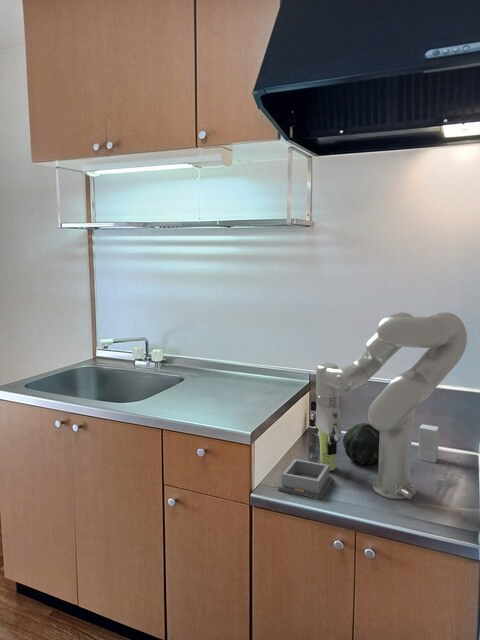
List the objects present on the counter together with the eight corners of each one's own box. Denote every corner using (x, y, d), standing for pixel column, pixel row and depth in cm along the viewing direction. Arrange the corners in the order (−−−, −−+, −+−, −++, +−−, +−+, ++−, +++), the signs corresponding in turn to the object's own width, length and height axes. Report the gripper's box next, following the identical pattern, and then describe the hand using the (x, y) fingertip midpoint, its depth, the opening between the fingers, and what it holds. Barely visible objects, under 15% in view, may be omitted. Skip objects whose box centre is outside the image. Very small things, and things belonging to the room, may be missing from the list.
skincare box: (438, 458, 178) (439, 426, 176) (435, 463, 175) (437, 430, 173) (420, 455, 181) (421, 423, 179) (417, 459, 178) (418, 427, 176)
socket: (333, 479, 164) (333, 464, 163) (320, 499, 152) (321, 483, 151) (292, 471, 170) (292, 457, 169) (278, 490, 158) (277, 474, 157)
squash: (362, 432, 190) (348, 410, 181) (398, 444, 179) (385, 422, 170) (345, 463, 184) (329, 443, 176) (380, 478, 174) (366, 457, 165)
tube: (320, 471, 169) (320, 416, 167) (317, 465, 174) (317, 411, 172) (336, 471, 169) (336, 415, 167) (333, 464, 175) (333, 411, 172)
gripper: (350, 406, 162) (350, 459, 164) (324, 391, 178) (324, 440, 180) (330, 409, 159) (330, 462, 162) (305, 394, 175) (306, 443, 178)
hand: (327, 450), depth 171 cm, fingers closed on tube, 5 cm apart
